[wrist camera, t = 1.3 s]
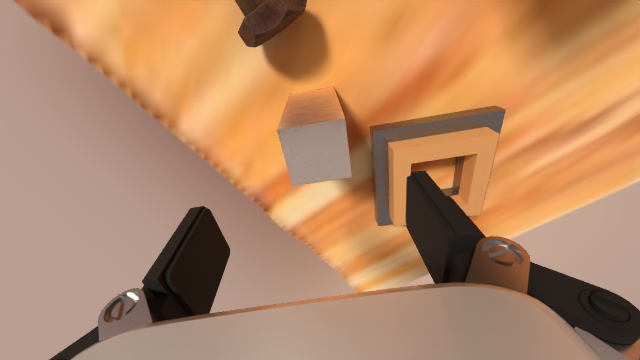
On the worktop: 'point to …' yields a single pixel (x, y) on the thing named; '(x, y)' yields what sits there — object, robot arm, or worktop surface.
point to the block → (314, 137)
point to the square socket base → (434, 158)
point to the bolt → (267, 18)
